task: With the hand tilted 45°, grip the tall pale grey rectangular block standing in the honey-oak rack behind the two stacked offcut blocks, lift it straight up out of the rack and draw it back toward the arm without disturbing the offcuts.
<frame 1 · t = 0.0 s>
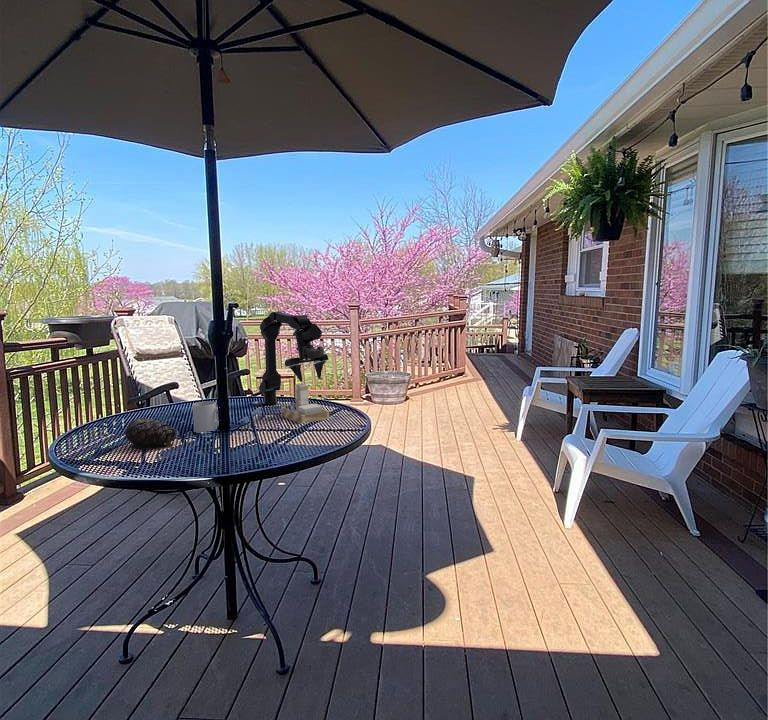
hand: (310, 380, 202), 15 cm above the table, tool pointing down, fingers open, 9 cm apart
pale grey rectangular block: (302, 415, 202), point 1 cm above the table, touching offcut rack
offcut top: (310, 412, 196), point 3 cm above the table, touching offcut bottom
pine cone: (154, 445, 168), on the table
mug: (210, 431, 184), on the table
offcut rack: (305, 418, 200), on the table
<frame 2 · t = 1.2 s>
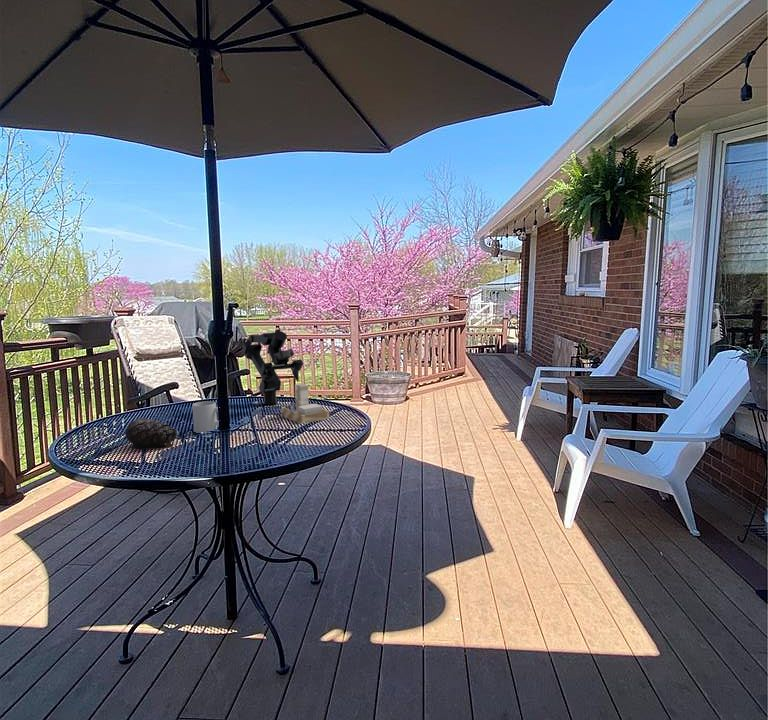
hand: (288, 382, 210), 13 cm above the table, tool tilted 45°, fingers open, 9 cm apart
nothing on the table moved.
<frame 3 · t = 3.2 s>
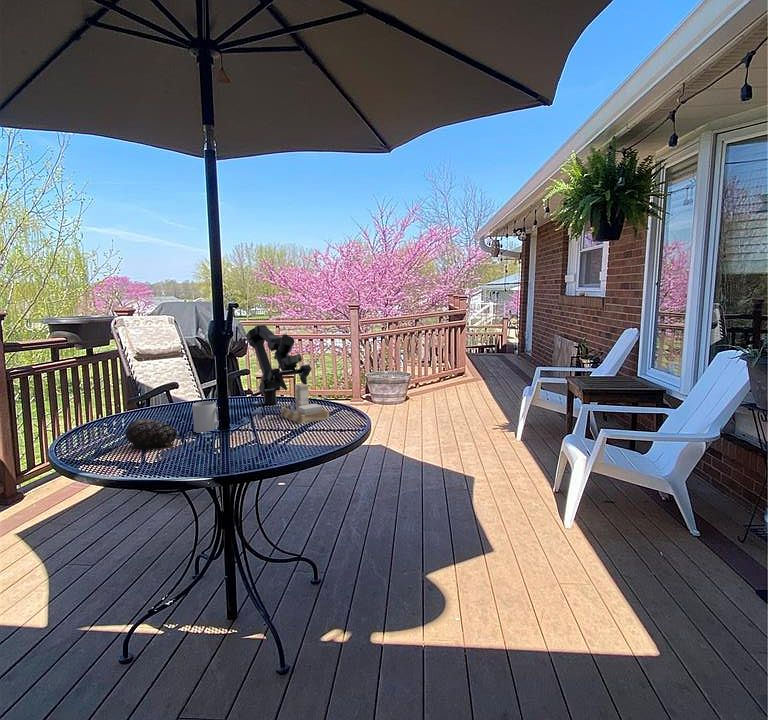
hand: (296, 388, 204), 12 cm above the table, tool tilted 45°, fingers open, 9 cm apart
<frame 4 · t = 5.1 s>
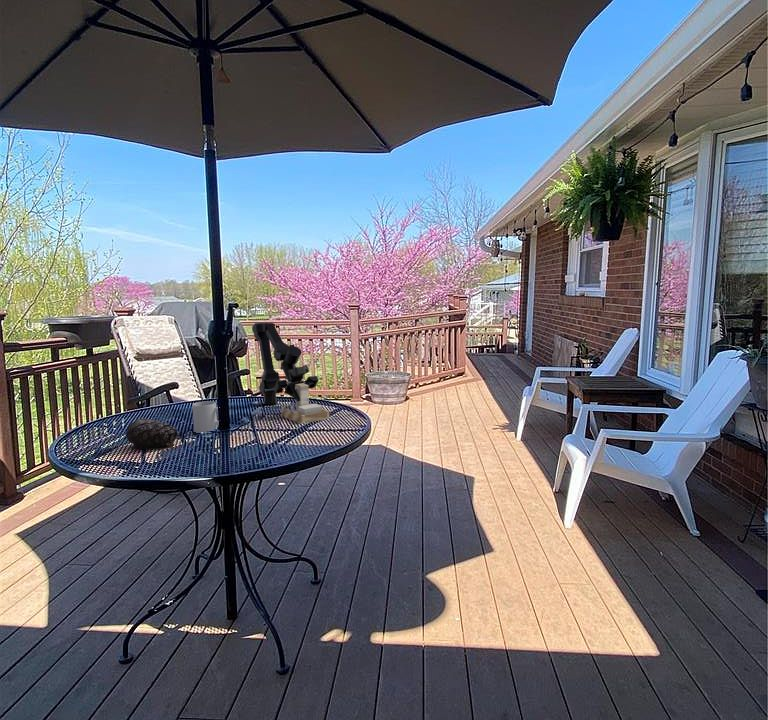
hand: (303, 400, 200), 8 cm above the table, tool tilted 45°, fingers closed on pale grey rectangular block, 4 cm apart
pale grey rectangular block: (302, 415, 202), point 1 cm above the table, touching gripper, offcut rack
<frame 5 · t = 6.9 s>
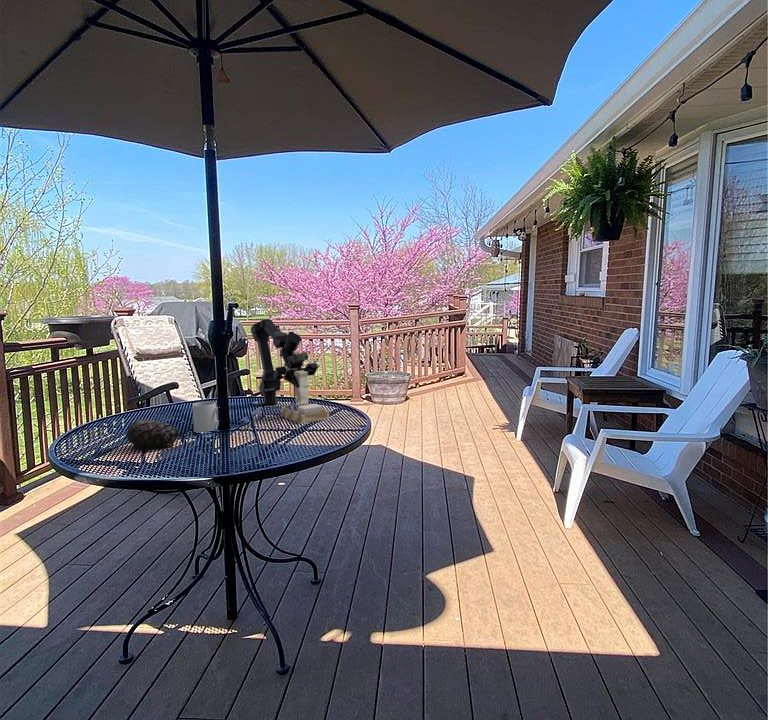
hand: (303, 386, 199), 13 cm above the table, tool tilted 45°, fingers closed on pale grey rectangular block, 3 cm apart
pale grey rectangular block: (302, 402, 201), point 7 cm above the table, touching gripper
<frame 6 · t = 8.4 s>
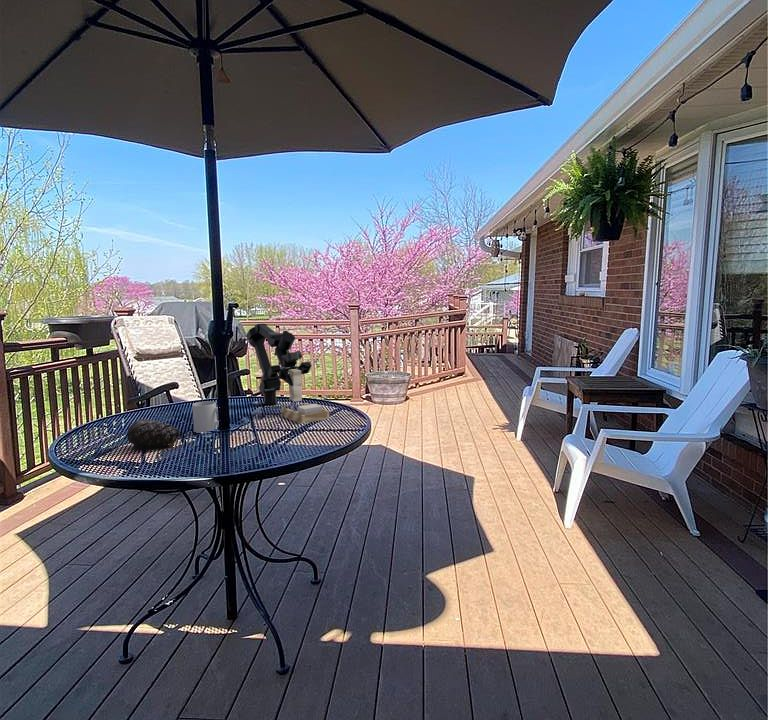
hand: (296, 385, 204), 13 cm above the table, tool tilted 45°, fingers closed on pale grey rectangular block, 3 cm apart
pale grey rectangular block: (295, 399, 206), point 7 cm above the table, touching gripper
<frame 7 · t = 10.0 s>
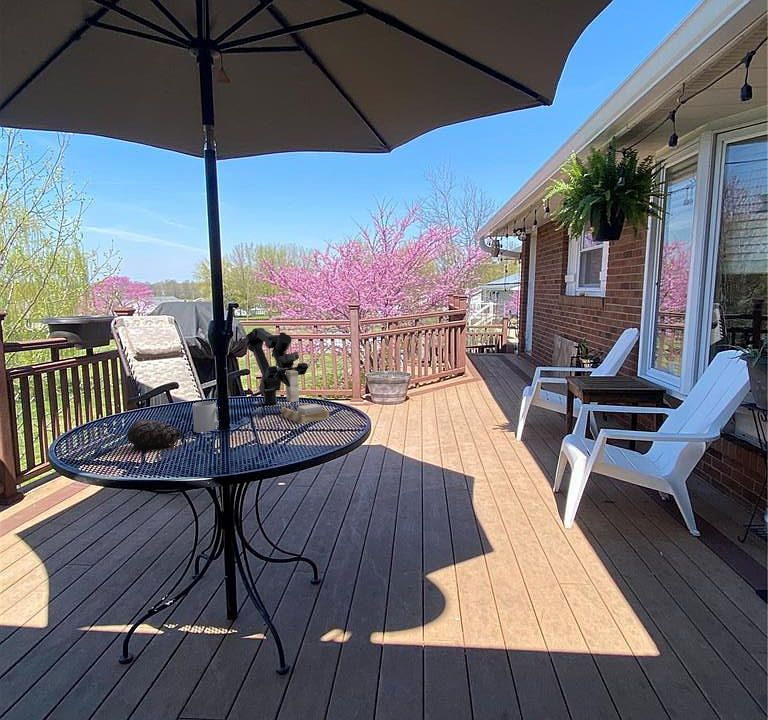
hand: (293, 385, 206), 12 cm above the table, tool tilted 45°, fingers closed on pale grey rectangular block, 3 cm apart
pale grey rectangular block: (292, 400, 208), point 6 cm above the table, touching gripper
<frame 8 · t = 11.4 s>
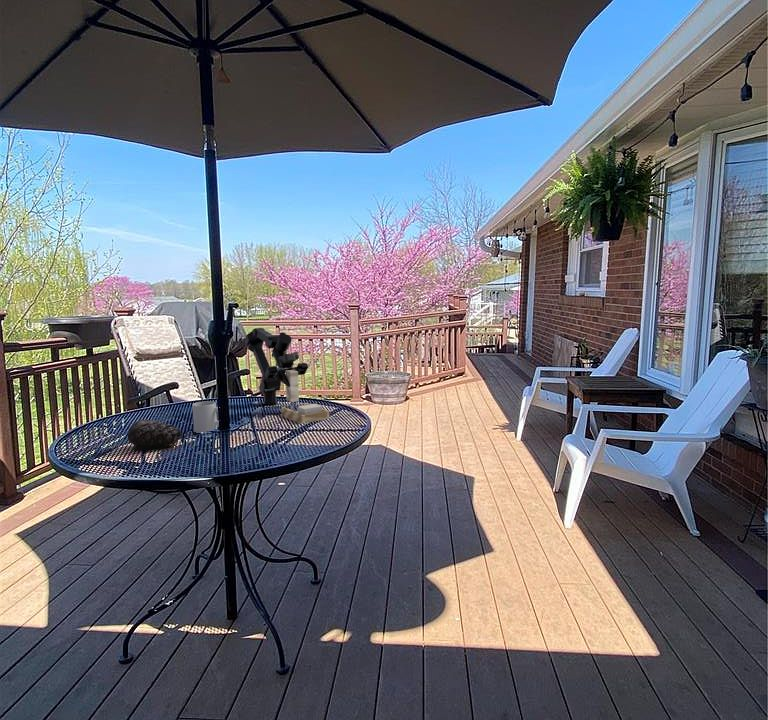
hand: (293, 385, 206), 12 cm above the table, tool tilted 45°, fingers closed on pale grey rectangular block, 3 cm apart
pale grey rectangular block: (292, 400, 208), point 6 cm above the table, touching gripper
at the end: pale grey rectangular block point 5.8 cm above the table; the gripper is holding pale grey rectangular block; offcut top moved 0.0 cm from its start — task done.
